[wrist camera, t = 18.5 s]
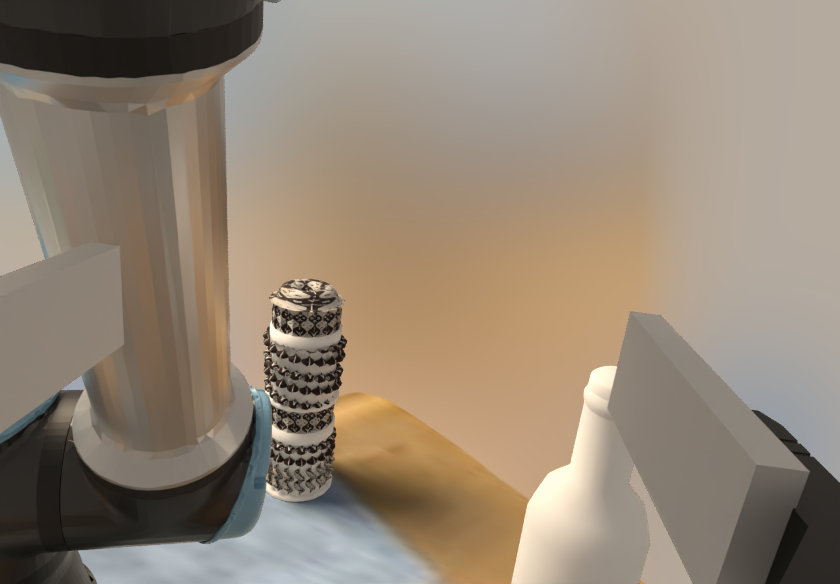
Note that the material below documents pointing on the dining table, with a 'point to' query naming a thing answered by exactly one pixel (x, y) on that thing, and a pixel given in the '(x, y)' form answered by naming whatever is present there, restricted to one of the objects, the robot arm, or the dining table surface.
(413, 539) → the dining table surface
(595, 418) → the bottle
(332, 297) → the decorative candle
